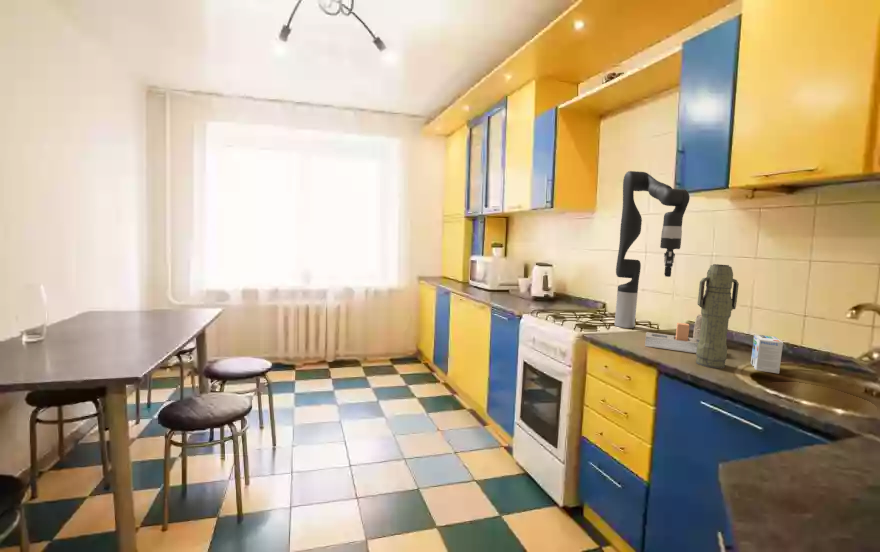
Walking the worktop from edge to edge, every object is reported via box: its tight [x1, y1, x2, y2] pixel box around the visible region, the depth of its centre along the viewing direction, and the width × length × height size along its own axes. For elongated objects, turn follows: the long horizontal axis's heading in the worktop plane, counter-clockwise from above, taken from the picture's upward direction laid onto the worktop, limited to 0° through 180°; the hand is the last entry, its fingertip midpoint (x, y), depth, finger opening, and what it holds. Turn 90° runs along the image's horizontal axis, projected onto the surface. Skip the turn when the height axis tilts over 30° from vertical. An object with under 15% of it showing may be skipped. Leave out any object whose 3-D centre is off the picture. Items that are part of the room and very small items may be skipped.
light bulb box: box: [750, 334, 784, 374], centre depth 153 cm, size 11×7×11 cm, turn 154°
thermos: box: [695, 263, 739, 369], centre depth 153 cm, size 9×12×35 cm
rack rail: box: [644, 331, 700, 354], centre depth 176 cm, size 10×26×4 cm, turn 64°
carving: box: [692, 314, 702, 339], centre depth 188 cm, size 6×8×12 cm
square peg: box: [675, 322, 690, 341], centre depth 176 cm, size 4×4×10 cm
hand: (667, 275), depth 186 cm, fingers open, 8 cm apart
